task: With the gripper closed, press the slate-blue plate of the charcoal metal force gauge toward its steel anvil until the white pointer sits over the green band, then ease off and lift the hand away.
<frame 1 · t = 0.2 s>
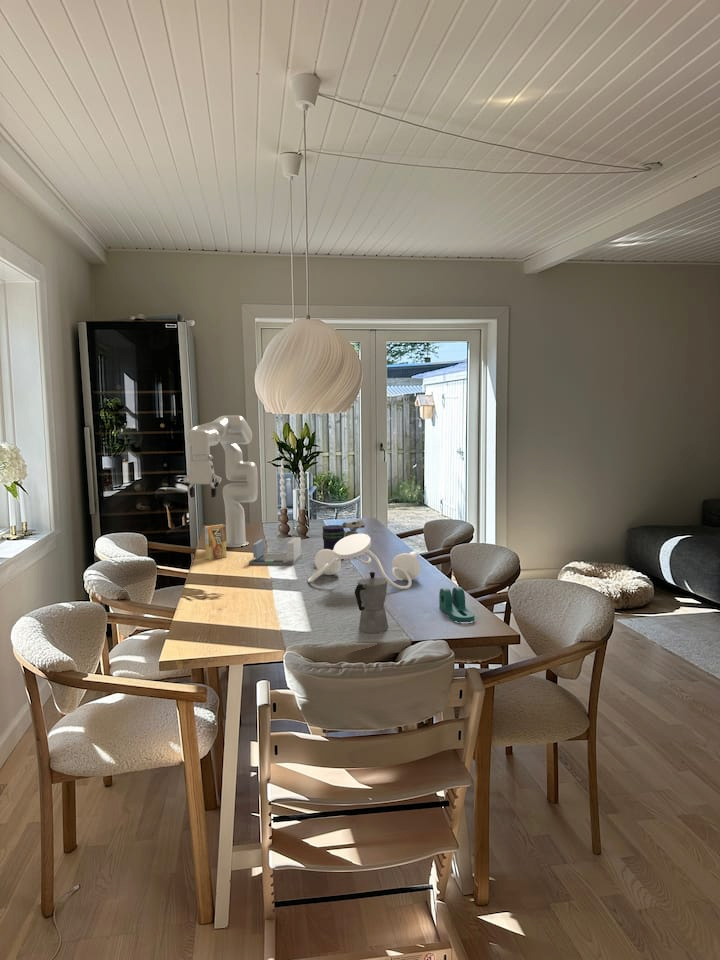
hand: (203, 497, 301), 31 cm above the table, tool pointing down, fingers open, 9 cm apart
bracket: (457, 616, 224), on the table
pressure plate: (258, 549, 310), point 5 cm above the table, slide at 0.0 cm
storage jar: (334, 559, 311), on the table
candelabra: (361, 582, 270), on the table
candy box: (216, 558, 319), on the table
figurine: (354, 552, 326), on the table
gauge housing: (276, 560, 310), on the table
coffeepot: (371, 630, 211), on the table
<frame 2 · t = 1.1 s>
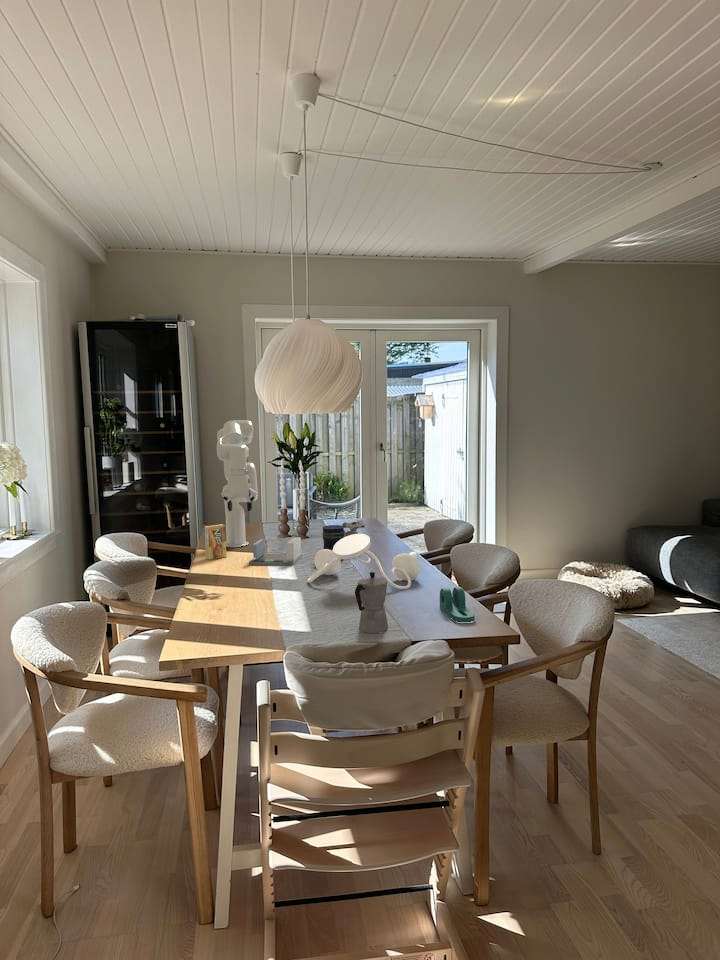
hand: (239, 510, 310), 23 cm above the table, tool pointing down, fingers open, 8 cm apart
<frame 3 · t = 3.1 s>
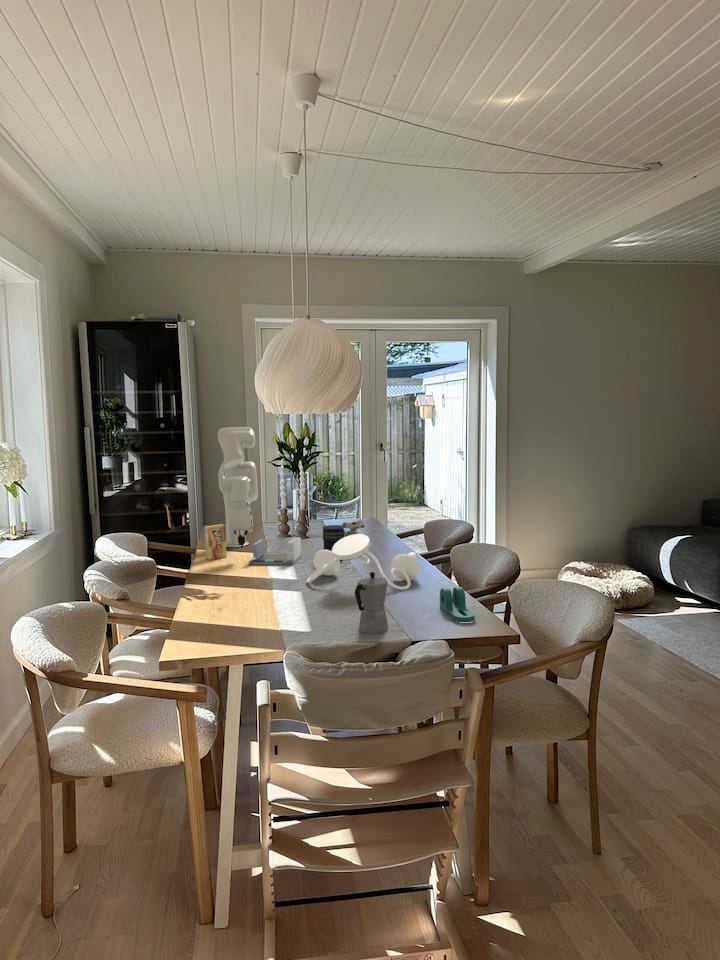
hand: (241, 544, 311), 7 cm above the table, tool pointing down, fingers closed
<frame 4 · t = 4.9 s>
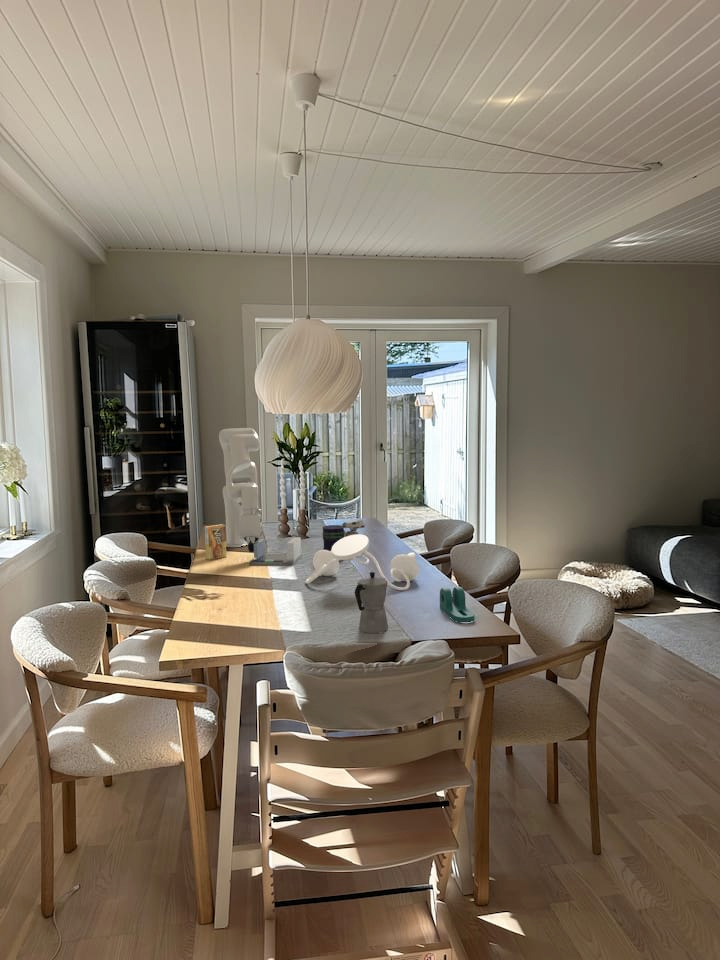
hand: (251, 551, 311), 4 cm above the table, tool pointing down, fingers closed
pressure plate: (258, 549, 310), point 5 cm above the table, slide at 0.3 cm, touching gripper
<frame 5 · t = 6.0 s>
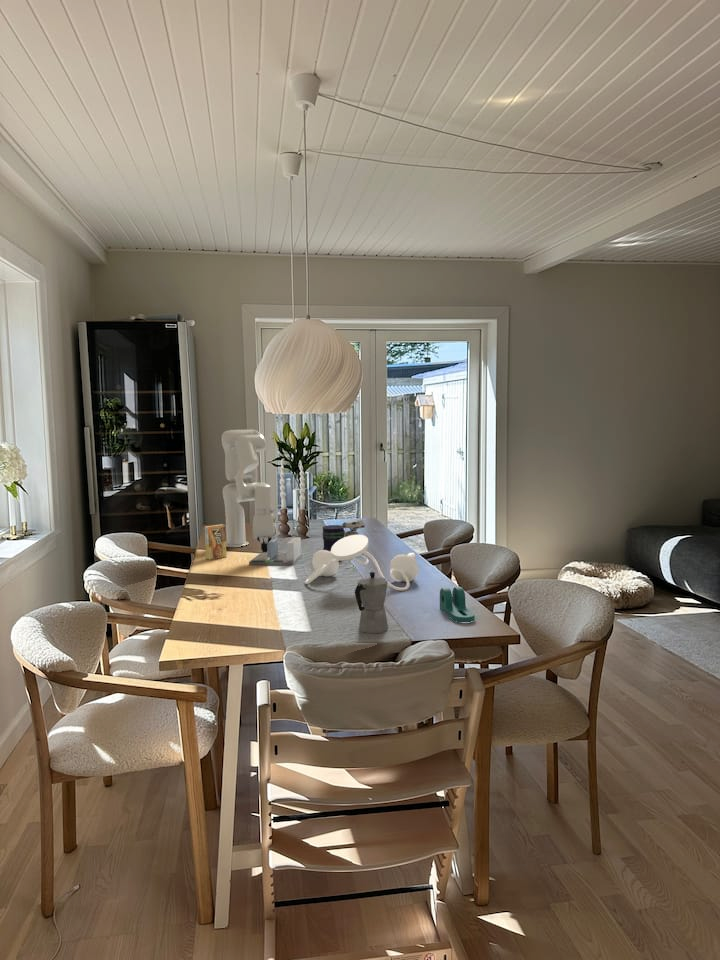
hand: (265, 551, 310), 4 cm above the table, tool pointing down, fingers closed
pressure plate: (271, 549, 309), point 5 cm above the table, slide at 6.5 cm, touching gripper
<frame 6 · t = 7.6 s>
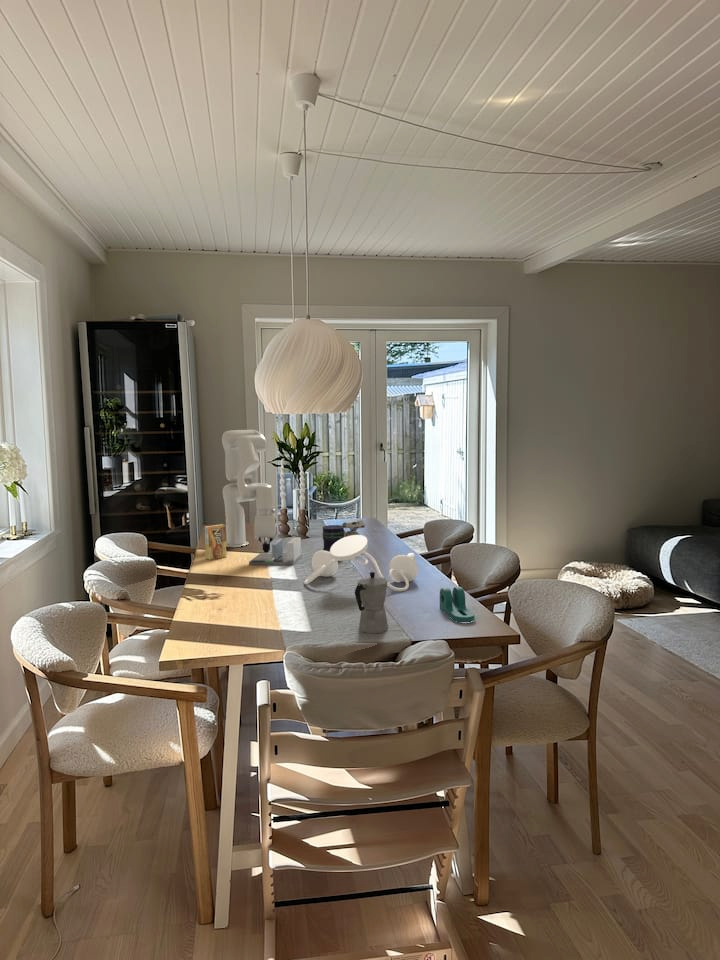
hand: (266, 552, 310), 4 cm above the table, tool pointing down, fingers closed
pressure plate: (276, 549, 308), point 5 cm above the table, slide at 8.8 cm
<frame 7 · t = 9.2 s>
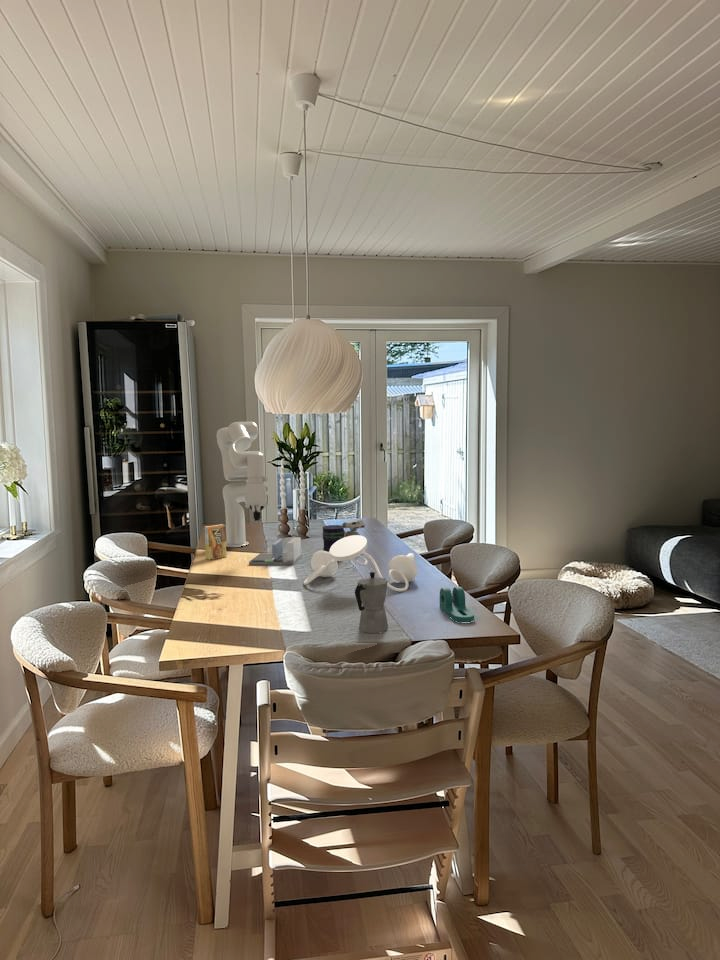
hand: (257, 520, 310), 19 cm above the table, tool pointing down, fingers closed
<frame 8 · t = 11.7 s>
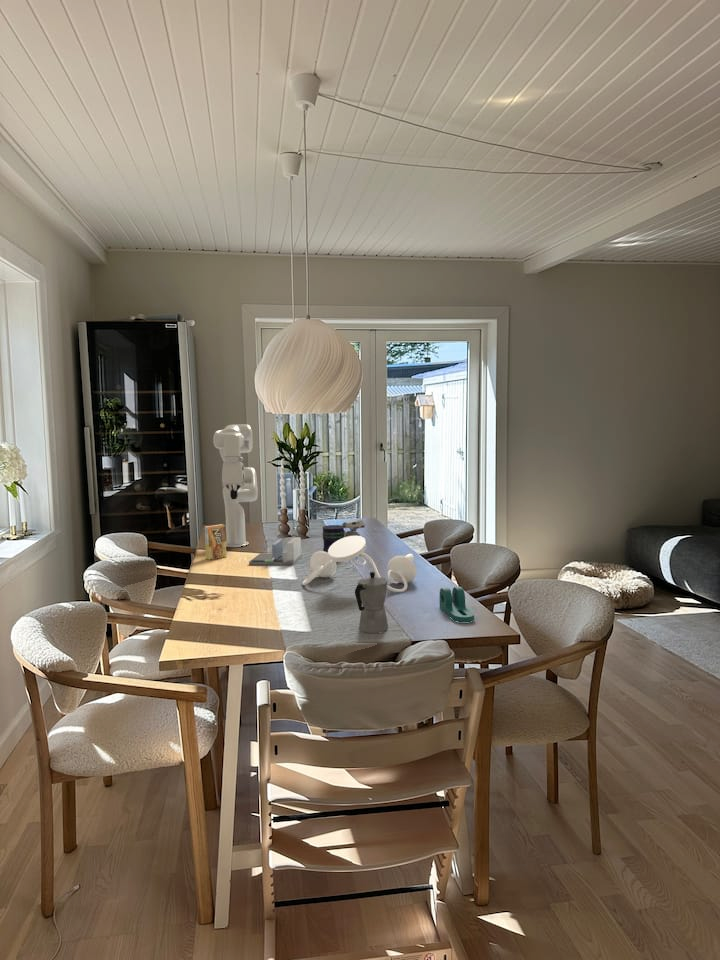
hand: (234, 498, 320), 27 cm above the table, tool pointing down, fingers closed
at the end: pressure plate slide at 8.8 cm; candy box moved 0.2 cm from its start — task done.
